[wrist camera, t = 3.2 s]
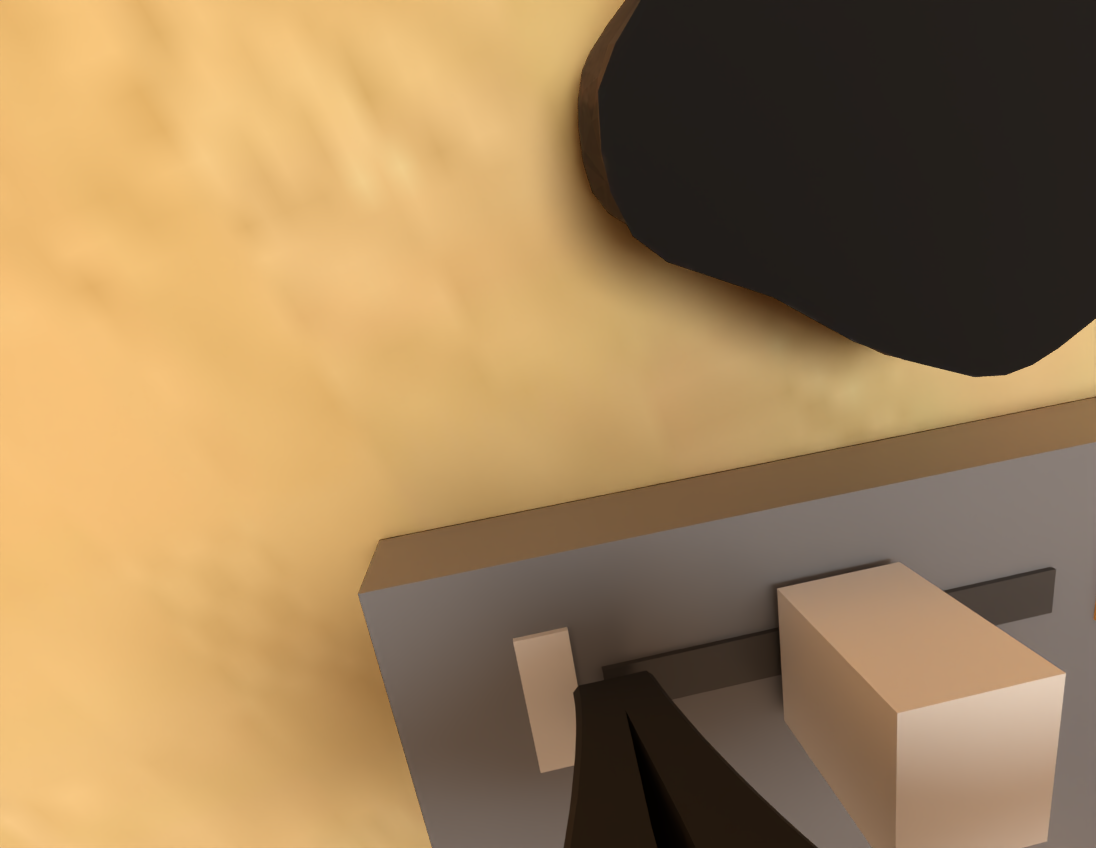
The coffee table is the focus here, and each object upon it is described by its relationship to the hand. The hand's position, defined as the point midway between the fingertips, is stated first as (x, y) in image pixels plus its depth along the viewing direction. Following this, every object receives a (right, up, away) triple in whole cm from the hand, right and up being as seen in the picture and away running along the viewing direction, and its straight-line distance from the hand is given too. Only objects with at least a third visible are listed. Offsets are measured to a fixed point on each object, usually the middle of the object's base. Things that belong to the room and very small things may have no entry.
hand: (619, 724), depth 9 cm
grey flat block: (+5, -2, +4) cm, 7 cm away
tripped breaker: (+4, +1, +1) cm, 5 cm away
